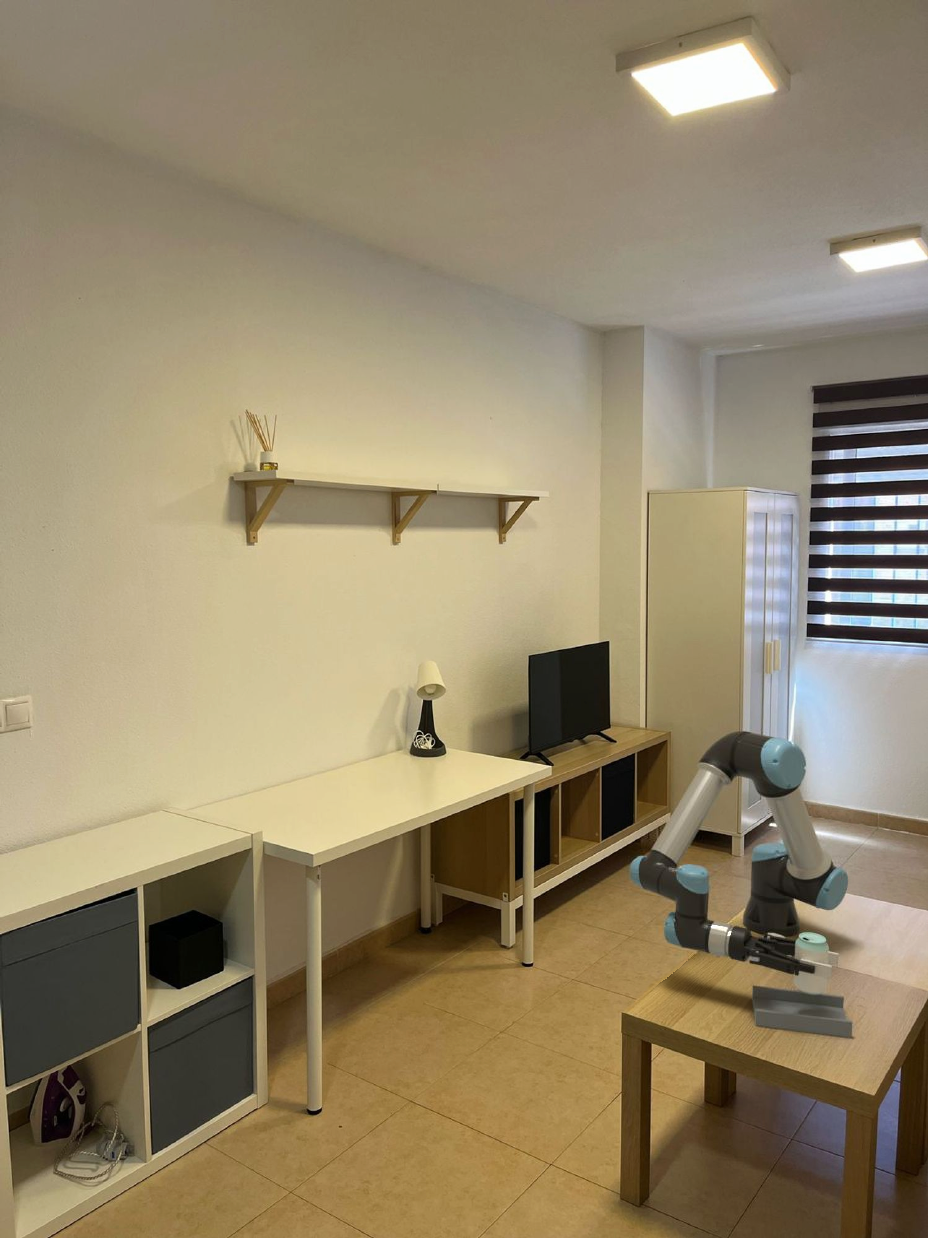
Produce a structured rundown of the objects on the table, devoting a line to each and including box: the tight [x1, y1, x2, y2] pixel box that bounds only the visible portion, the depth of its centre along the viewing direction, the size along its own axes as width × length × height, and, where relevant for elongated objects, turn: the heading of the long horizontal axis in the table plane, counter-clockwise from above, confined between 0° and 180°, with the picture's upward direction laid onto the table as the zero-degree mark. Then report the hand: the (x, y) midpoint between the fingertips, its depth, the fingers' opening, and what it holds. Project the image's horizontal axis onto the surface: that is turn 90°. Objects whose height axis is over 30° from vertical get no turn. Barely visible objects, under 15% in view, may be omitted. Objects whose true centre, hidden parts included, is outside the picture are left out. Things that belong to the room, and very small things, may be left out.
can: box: [792, 931, 830, 995], centre depth 214 cm, size 7×7×12 cm
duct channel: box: [751, 985, 853, 1039], centre depth 215 cm, size 13×20×4 cm, turn 77°
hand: (834, 966), depth 211 cm, fingers closed on can, 7 cm apart
